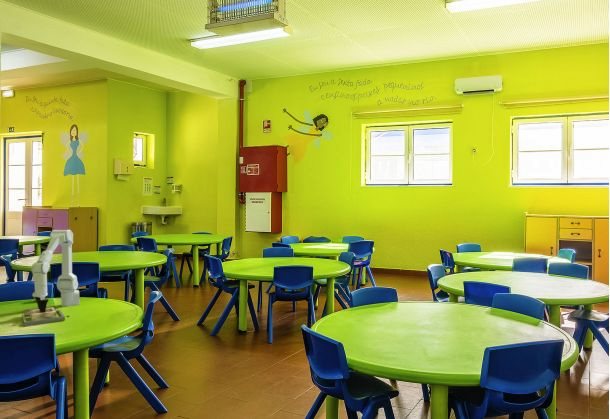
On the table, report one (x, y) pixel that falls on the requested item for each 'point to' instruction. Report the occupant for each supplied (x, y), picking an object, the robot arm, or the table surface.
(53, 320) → the tray
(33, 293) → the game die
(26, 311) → the stake board
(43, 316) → the cream square frame
